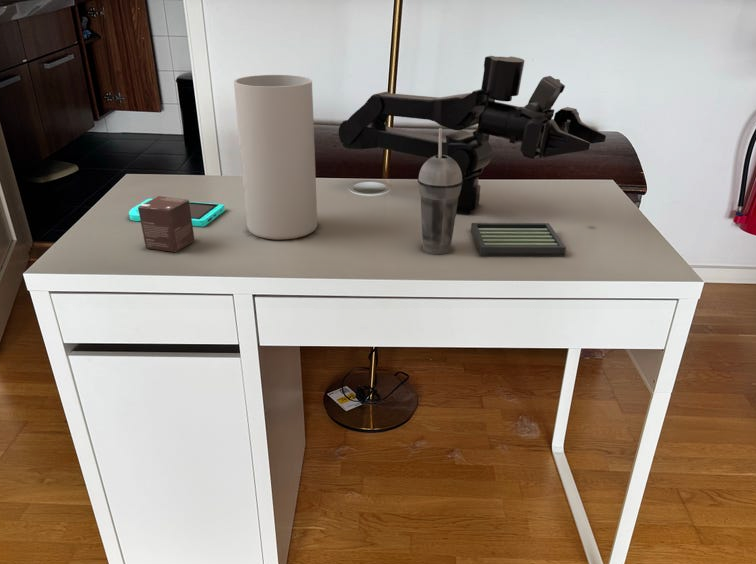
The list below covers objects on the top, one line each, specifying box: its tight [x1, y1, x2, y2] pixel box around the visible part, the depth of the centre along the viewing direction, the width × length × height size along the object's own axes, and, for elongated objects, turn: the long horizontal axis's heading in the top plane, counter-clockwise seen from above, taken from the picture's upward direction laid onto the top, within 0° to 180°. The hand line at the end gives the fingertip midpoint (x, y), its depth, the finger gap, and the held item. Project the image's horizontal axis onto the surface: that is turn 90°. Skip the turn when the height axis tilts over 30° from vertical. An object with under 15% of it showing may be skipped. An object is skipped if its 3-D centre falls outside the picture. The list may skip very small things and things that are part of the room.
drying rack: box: [470, 222, 567, 257], centre depth 118 cm, size 14×12×2 cm
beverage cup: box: [417, 127, 463, 255], centre depth 111 cm, size 7×7×20 cm
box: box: [138, 195, 196, 253], centre depth 114 cm, size 6×6×7 cm
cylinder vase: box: [233, 74, 318, 241], centre depth 117 cm, size 12×12×25 cm
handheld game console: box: [128, 198, 226, 228], centre depth 129 cm, size 10×16×1 cm, turn 78°
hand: (597, 142), depth 115 cm, fingers open, 9 cm apart
